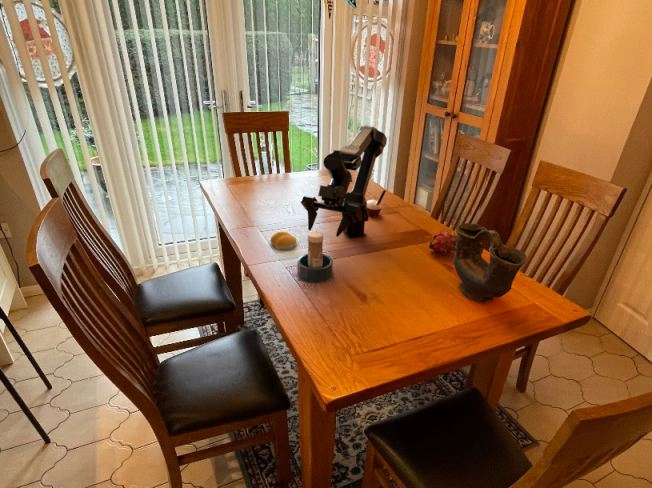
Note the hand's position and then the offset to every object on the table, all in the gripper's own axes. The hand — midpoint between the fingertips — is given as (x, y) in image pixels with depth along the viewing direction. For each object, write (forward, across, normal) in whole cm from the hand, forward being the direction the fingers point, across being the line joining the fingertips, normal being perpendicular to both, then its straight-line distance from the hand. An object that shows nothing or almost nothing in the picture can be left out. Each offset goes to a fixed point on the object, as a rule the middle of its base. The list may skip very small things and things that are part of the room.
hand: (322, 233), depth 128 cm
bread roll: (+2, -19, +14) cm, 24 cm away
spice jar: (+12, 0, +5) cm, 13 cm away
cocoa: (-26, 0, +42) cm, 50 cm away
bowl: (+12, 0, +5) cm, 13 cm away
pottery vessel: (+4, +47, +13) cm, 49 cm away
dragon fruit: (-11, +32, +28) cm, 44 cm away
